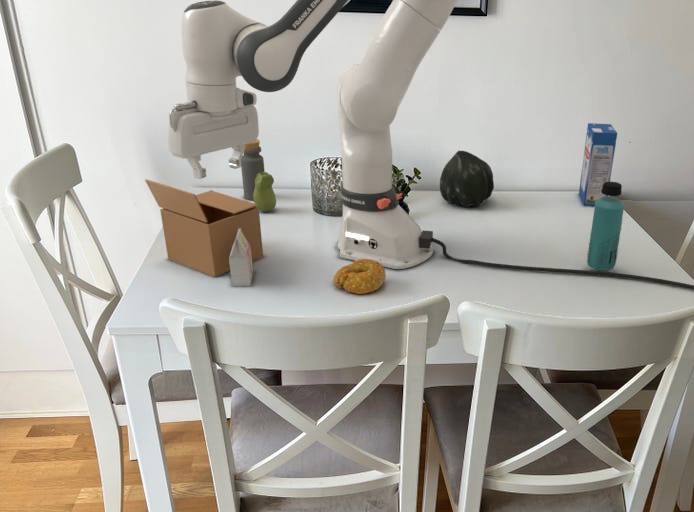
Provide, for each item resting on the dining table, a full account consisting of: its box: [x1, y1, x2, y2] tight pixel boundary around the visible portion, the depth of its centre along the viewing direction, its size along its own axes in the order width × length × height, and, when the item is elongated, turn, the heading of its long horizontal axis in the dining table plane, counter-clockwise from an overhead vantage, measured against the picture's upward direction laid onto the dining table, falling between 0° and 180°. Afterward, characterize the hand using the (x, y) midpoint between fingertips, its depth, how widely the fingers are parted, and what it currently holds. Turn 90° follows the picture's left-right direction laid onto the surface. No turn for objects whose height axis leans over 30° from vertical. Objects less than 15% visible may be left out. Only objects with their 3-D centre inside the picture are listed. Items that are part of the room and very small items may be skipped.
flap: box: [144, 178, 208, 222], centre depth 151 cm, size 15×7×1 cm
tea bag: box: [229, 228, 254, 287], centre depth 153 cm, size 4×7×10 cm, turn 8°
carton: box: [159, 190, 264, 278], centre depth 161 cm, size 15×14×12 cm
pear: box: [253, 171, 277, 213], centre depth 189 cm, size 6×5×10 cm
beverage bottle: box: [586, 181, 625, 271], centre depth 162 cm, size 6×7×20 cm
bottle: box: [240, 138, 266, 201], centre depth 196 cm, size 6×6×15 cm
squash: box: [439, 150, 495, 208], centre depth 200 cm, size 14×15×15 cm
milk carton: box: [578, 122, 618, 207], centre depth 204 cm, size 10×6×20 cm, turn 179°
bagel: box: [332, 259, 387, 295], centre depth 154 cm, size 10×11×5 cm
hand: (218, 172), depth 144 cm, fingers open, 8 cm apart
